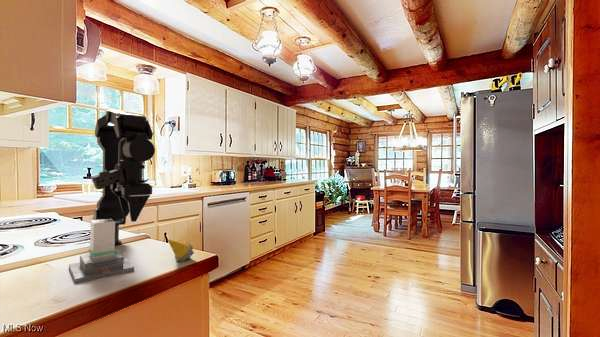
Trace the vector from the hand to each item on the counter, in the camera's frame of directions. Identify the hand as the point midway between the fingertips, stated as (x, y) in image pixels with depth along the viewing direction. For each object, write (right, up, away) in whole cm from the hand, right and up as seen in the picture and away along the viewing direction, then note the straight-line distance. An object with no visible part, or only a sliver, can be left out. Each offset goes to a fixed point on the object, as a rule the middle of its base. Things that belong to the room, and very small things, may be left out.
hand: (129, 218), depth 78 cm
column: (-5, -9, -4) cm, 11 cm away
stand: (-5, -12, -4) cm, 14 cm away
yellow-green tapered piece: (+12, -13, +4) cm, 18 cm away
